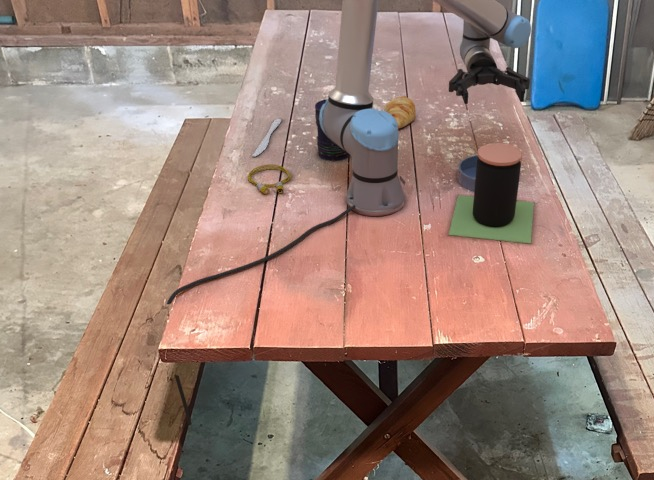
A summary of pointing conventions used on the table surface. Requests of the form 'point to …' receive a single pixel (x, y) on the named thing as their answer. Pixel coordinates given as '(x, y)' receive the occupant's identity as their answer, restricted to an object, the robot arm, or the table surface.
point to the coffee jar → (496, 184)
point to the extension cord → (264, 188)
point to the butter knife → (267, 138)
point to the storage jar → (327, 141)
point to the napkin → (511, 232)
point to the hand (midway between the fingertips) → (494, 97)
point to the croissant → (401, 110)
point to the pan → (467, 172)
